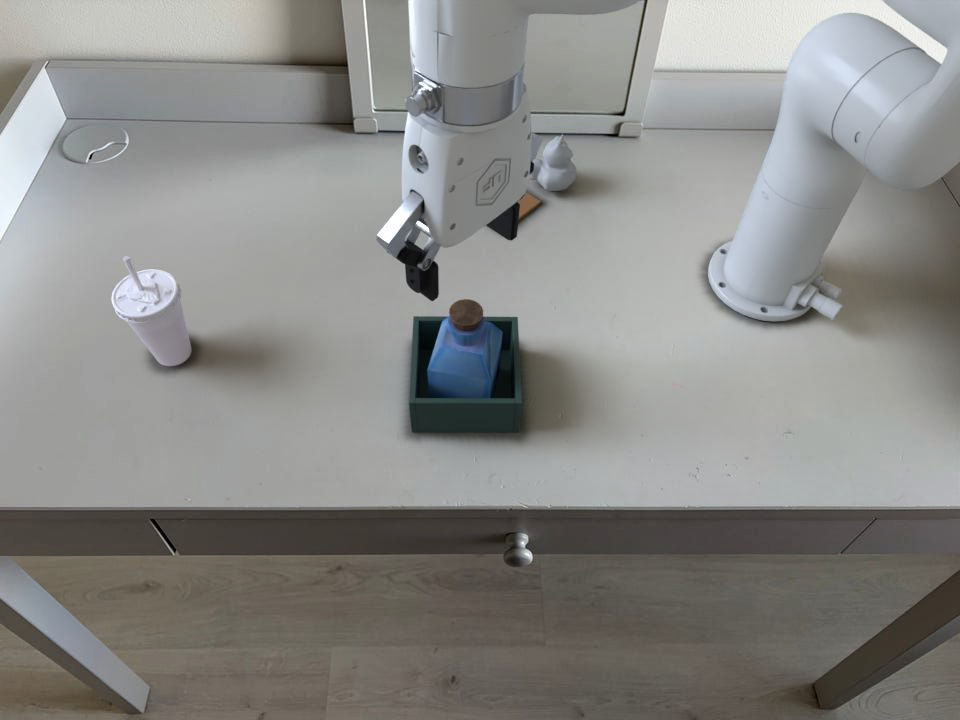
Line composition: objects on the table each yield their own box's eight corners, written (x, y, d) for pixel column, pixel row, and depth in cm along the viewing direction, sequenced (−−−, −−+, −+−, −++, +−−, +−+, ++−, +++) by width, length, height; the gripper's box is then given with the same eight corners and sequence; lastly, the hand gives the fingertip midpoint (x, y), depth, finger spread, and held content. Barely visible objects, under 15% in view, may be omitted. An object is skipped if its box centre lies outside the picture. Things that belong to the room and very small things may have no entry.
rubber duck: (575, 199, 99) (583, 148, 93) (524, 198, 99) (528, 147, 93) (573, 171, 103) (580, 120, 96) (523, 170, 103) (527, 119, 96)
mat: (540, 203, 99) (541, 201, 99) (504, 231, 96) (504, 229, 95) (499, 178, 102) (499, 176, 101) (463, 204, 98) (463, 202, 98)
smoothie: (179, 320, 86) (137, 227, 75) (216, 349, 84) (179, 258, 73) (130, 355, 83) (79, 263, 72) (167, 387, 81) (121, 297, 70)
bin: (514, 347, 85) (517, 316, 81) (518, 432, 78) (522, 403, 74) (415, 347, 85) (413, 316, 80) (411, 432, 78) (408, 403, 74)
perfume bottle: (488, 416, 79) (492, 343, 69) (429, 405, 80) (425, 331, 70) (499, 368, 83) (505, 293, 73) (443, 358, 83) (441, 282, 74)
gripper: (415, 165, 47) (422, 341, 61) (589, 53, 55) (560, 231, 69) (332, 111, 50) (356, 291, 63) (509, 12, 58) (497, 191, 72)
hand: (462, 260), depth 66 cm, fingers open, 9 cm apart
